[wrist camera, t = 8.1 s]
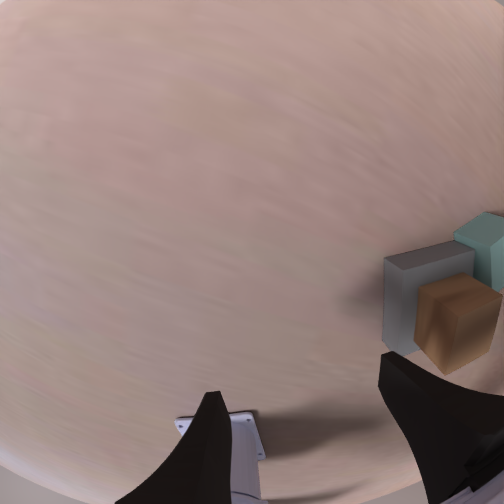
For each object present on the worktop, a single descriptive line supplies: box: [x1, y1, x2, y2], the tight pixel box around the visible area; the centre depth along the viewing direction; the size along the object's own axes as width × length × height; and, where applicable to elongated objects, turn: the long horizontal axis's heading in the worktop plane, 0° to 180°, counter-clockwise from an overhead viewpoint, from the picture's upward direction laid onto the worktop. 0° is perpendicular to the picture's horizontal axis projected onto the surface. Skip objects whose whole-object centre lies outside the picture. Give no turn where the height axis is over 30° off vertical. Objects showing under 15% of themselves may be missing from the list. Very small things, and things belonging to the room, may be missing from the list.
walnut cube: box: [413, 272, 503, 375], centre depth 17 cm, size 5×5×5 cm
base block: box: [382, 241, 475, 356], centre depth 20 cm, size 8×8×3 cm
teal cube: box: [454, 212, 504, 292], centre depth 19 cm, size 5×5×5 cm
